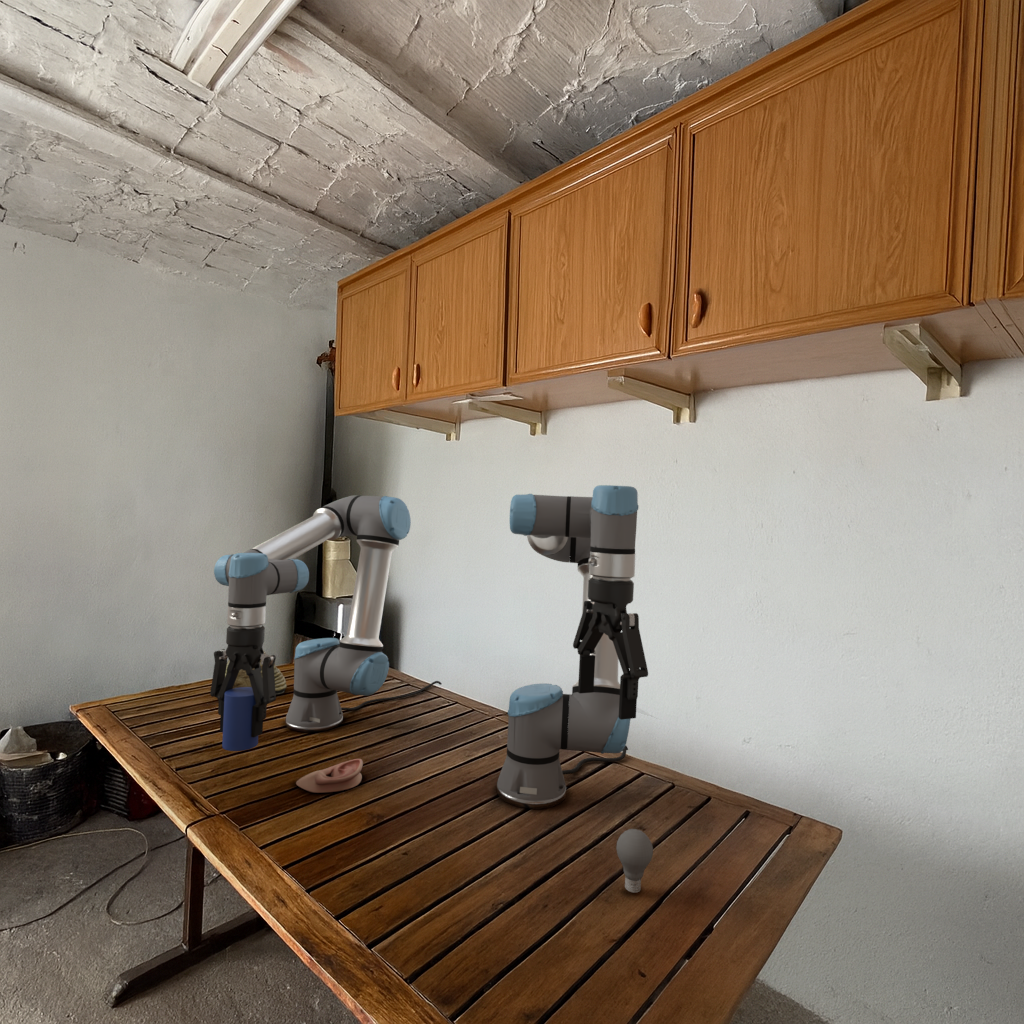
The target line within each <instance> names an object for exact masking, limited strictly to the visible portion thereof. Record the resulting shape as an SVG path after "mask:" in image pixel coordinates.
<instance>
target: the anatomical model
mask: <svg viewBox="0 0 1024 1024" xmlns="http://www.w3.org/2000/svg"><path fill="white" fill-rule="evenodd" d="M363 765H364V761H363V759H361V758H354V759H350V760H346V761H343V762H340V763H337V764H334V765H332V766H329V767H327V768H324V769H320V770H319V769H318V770H316V771H315V770H314V771H313V772H310V773H308V774H306V775H304V776H302V777H300V778H299V779H297V780H296V782H295V784H296V786H298V787H299V788H301V789H303V790H305V791H307V792H309V793H314V794H316V793H317V794H319V793H321V794H322V793H333V792H341V791H344V790H345V791H346V790H349V789H352V788H355V787H356V786H358V785H359V784H360V783H361V782H362V779H363V775H362V773H361V771H362V769H363Z"/></svg>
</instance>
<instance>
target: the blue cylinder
mask: <svg viewBox="0 0 1024 1024" xmlns="http://www.w3.org/2000/svg"><path fill="white" fill-rule="evenodd" d="M254 705H256V701H255V697H254V694H253V690H252V687H239V688H233V689H230V690H227V691H226V692H225V696H224V718H223V732H222V743H221V747H222V750H225V751H229V752H243V751H247V750H251V749H254V748H256V747H257V746H258V744H259V735H258V736H256V737H251V733H252V711H253V706H254Z"/></svg>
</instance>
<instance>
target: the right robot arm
mask: <svg viewBox="0 0 1024 1024" xmlns="http://www.w3.org/2000/svg"><path fill="white" fill-rule="evenodd" d="M638 499H639V494H638V490H637V488H636V487H635V486H631V485H630V486H629V485H613V484H612V485H610V484H609V485H608V484H601V485H600V484H599V485H596V486H594V488H593V490H592V496H574V495H573V496H571V495H570V496H569V495H567V496H566V495H547V494H533V493H527V494H525V493H524V494H515V495H513V496H512V497H511V500H510V505H509V530H510V532H511V533H512V534H513V535H519V536H520V535H521V536H525V537H526V538H527V541H528V544H529V545H530V547H531V548H532V550H533V551H534V552H536V553H537V554H539V555H541V556H543V557H545V558H547V559H550V560H553V561H557V562H560V563H570V564H577V572H578V573H579V574H580V575H581V576H582V578H583V581H582V582H583V584H582V605H581V606H582V609H581V610H582V611H581V617H580V620H579V623H578V627H577V630H576V633H575V637H574V639H573V643H572V647H573V649H574V650H575V649H577V654H578V655H579V662H578V663H579V664H578V665H579V666H578V680H577V681H576V682H575V683H574V684H573V685H572V686H571V687H572V688H571V694H570V693H569V694H568V693H564V690H563V688H562V687H561V685H558V684H552V683H532V684H528V685H524V686H521V687H519V688H517V689H515V690H514V691H513V692H511V694H510V696H509V701H508V702H509V703H508V709H507V716H508V718H507V739H506V740H507V741H506V757H505V760H504V761H503V765H502V768H501V770H500V773H499V775H498V778H497V782H496V794H497V796H498V797H500V799H501V800H502V801H504V802H505V803H507V804H510V805H512V806H515V807H518V808H524V809H535V810H536V809H547V808H551V807H555V806H557V805H559V804H561V803H562V802H564V800H565V799H566V796H567V783H566V779H565V777H564V776H565V775H572V774H575V773H577V772H578V771H579V770H580V769H581V768H582V766H583V765H584V764H586V763H591V762H593V763H594V762H596V763H597V762H599V763H617V762H621V761H622V760H624V759H625V757H626V755H627V751H628V750H629V747H628V746H627V743H628V737H629V732H630V726H631V719H637V705H638V704H637V703H638V702H637V701H638V697H639V680H640V678H646V677H648V676H649V669H648V664H647V661H646V655H645V650H644V647H643V646H644V645H643V642H642V635H641V632H640V617H639V614H638V613H637V612H634V613H633V612H632V613H628V611H627V606H628V605H629V604H631V603H633V601H634V593H635V592H634V589H635V582H634V581H633V580H632V579H633V578H634V577H635V575H636V574H635V573H636V538H637V537H636V536H637V524H638V519H637V518H638V511H639V501H638ZM619 665H620V668H621V671H622V674H621V675H620V676H619ZM619 678H620V681H619ZM560 750H562V751H563V750H566V751H574V752H584V753H585V752H587V753H598V754H601V755H603V754H620V753H621V755H620V756H617V757H594V756H593V757H586V758H583V759H581V760H580V761H579V762H577V764H576V765H575V767H573V768H571V769H562V766H561V762H560Z"/></svg>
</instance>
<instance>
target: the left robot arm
mask: <svg viewBox="0 0 1024 1024" xmlns="http://www.w3.org/2000/svg"><path fill="white" fill-rule="evenodd" d="M411 524H412V523H411V513H410V510H409V508H408V505H407V504H406V502H404V500H402V499H401V498H400V497H399V498H398V497H394V496H387V495H360V494H354V495H349V496H345V497H342V498H340V499H337V500H334V501H332V502H330V503H328V504H325V505H323V506H321V507H320V508H318V509H316V510H315V511H314V512H313V514H312V516H310V517H309V518H307V519H305V520H303V521H301V522H299V523H297V524H295V525H293V526H291V527H290V528H287V529H286V530H284V531H282V532H280V533H277V535H275V536H273V537H271V538H269V539H267V540H265V541H263V542H262V543H260V544H257V545H256V546H254V547H252V548H249V549H248V550H246V551H244V552H237V553H233V554H232V553H231V554H224V555H222V556H221V557H219V558H218V559H217V561H216V562H215V564H214V568H213V575H214V577H215V580H216V581H217V583H218V584H220V585H222V586H226V587H228V595H227V596H228V597H227V599H228V600H227V602H228V603H227V618H226V619H227V620H226V624H227V625H228V627H227V628H226V637H225V643H226V645H227V647H226V649H225V648H221V649H219V650H215V651H214V652H213V658H214V665H213V672H212V679H211V685H210V693H209V694H210V697H212V698H216V699H217V701H218V706H217V707H218V710H217V714H218V715H219V716H220V719H219V733H223V718H224V696H225V692H226V691H227V690H230V689H232V688H233V686H234V683H235V681H236V678H237V676H238V673H239V671H240V670H241V669H242V670H245V671H246V674H247V675H248V676H249V679H250V683H251V686H252V690H253V694H254V697H255V701H256V705H254V706H253V711H252V733H251V737H256V736H258V737H259V736H260V735H262V734H263V731H264V730H263V728H264V721H265V720H266V718H267V711H268V710H267V708H268V707H267V706H268V705H269V704H271V703H274V702H275V701H276V699H277V694H276V693H275V676H274V664H275V665H276V659H277V657H276V655H275V654H272V655H270V654H267V653H266V654H264V652H265V650H264V648H263V645H264V643H265V636H266V635H265V633H266V627H265V626H264V624H266V613H267V612H266V611H267V596H273V595H279V594H287V593H289V594H292V593H294V592H298V591H301V590H304V588H306V587H307V585H308V583H309V580H310V570H309V568H308V566H307V564H306V563H305V562H304V561H303V560H301V559H297V558H298V557H300V556H302V555H304V554H305V553H307V552H308V551H310V550H312V549H314V548H315V547H317V546H319V545H321V544H323V543H324V542H326V541H335V540H337V539H338V538H342V537H348V536H352V537H353V536H355V537H356V543H357V544H358V545H359V548H360V552H359V557H358V563H357V569H356V574H355V575H356V576H355V582H354V587H353V593H352V600H351V606H350V607H351V608H350V612H349V619H348V624H347V631H346V635H345V636H344V637H343V638H341V639H340V640H339V638H336V637H322V638H313V639H307V640H304V641H302V642H299V643H298V644H297V645H296V647H295V652H294V653H295V654H294V657H293V659H294V660H293V662H294V663H293V665H294V667H293V695H292V696H293V697H292V699H291V702H290V704H289V708H288V711H287V713H286V715H285V726H286V728H287V729H289V730H291V731H294V732H295V731H296V732H301V733H316V732H325V731H329V730H332V729H335V728H337V727H339V726H340V725H342V723H343V722H344V714H343V711H349V712H351V711H356V710H359V709H360V708H362V707H364V706H365V705H368V704H371V703H375V702H384V701H385V702H386V701H392V700H398V699H403V698H407V697H411V696H412V697H413V696H416V695H419V694H420V693H422V692H423V691H425V690H426V689H429V688H431V687H432V686H433V685H435V684H438V685H442V682H441V681H439V680H435V681H433V682H431V683H430V684H428V685H426V686H423V687H422V688H420V689H419V690H417V691H414V692H410V693H406V694H401V695H395V696H391V697H390V696H389V697H381V698H375V699H370V700H366V701H364V702H362V703H360V704H359V705H357V706H354V707H345V706H344V707H343V706H341V702H340V699H339V695H338V692H343V693H347V694H351V695H353V696H364V697H369V696H372V695H374V694H376V693H377V692H378V691H379V690H380V689H381V687H382V686H383V685H384V683H385V681H386V679H387V677H388V673H389V669H390V661H389V658H388V656H387V654H385V653H384V652H383V650H384V644H383V643H382V641H381V640H380V631H381V626H382V618H383V612H384V607H385V599H386V593H387V587H388V581H389V580H388V579H389V574H390V567H391V562H392V554H393V552H394V551H395V550H397V549H398V548H399V545H400V541H401V540H403V539H405V538H406V537H407V536H408V534H409V533H410V530H411ZM263 650H264V651H263ZM228 660H230V662H229V665H228V667H227V662H228ZM260 660H262V662H261V664H262V675H261V666H260ZM226 667H227V673H226ZM254 668H255V669H254ZM252 669H254V670H252ZM225 673H226V676H225Z"/></svg>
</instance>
